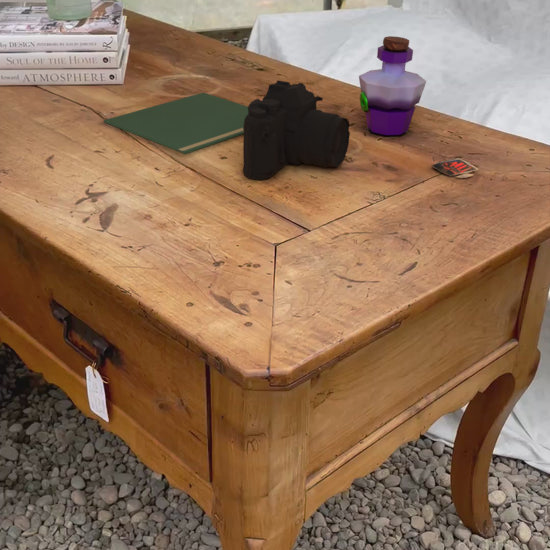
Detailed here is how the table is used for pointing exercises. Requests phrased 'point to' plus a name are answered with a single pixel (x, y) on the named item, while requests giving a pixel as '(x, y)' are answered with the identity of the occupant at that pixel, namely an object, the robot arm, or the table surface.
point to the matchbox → (455, 167)
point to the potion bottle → (391, 90)
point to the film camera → (291, 132)
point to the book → (186, 122)
